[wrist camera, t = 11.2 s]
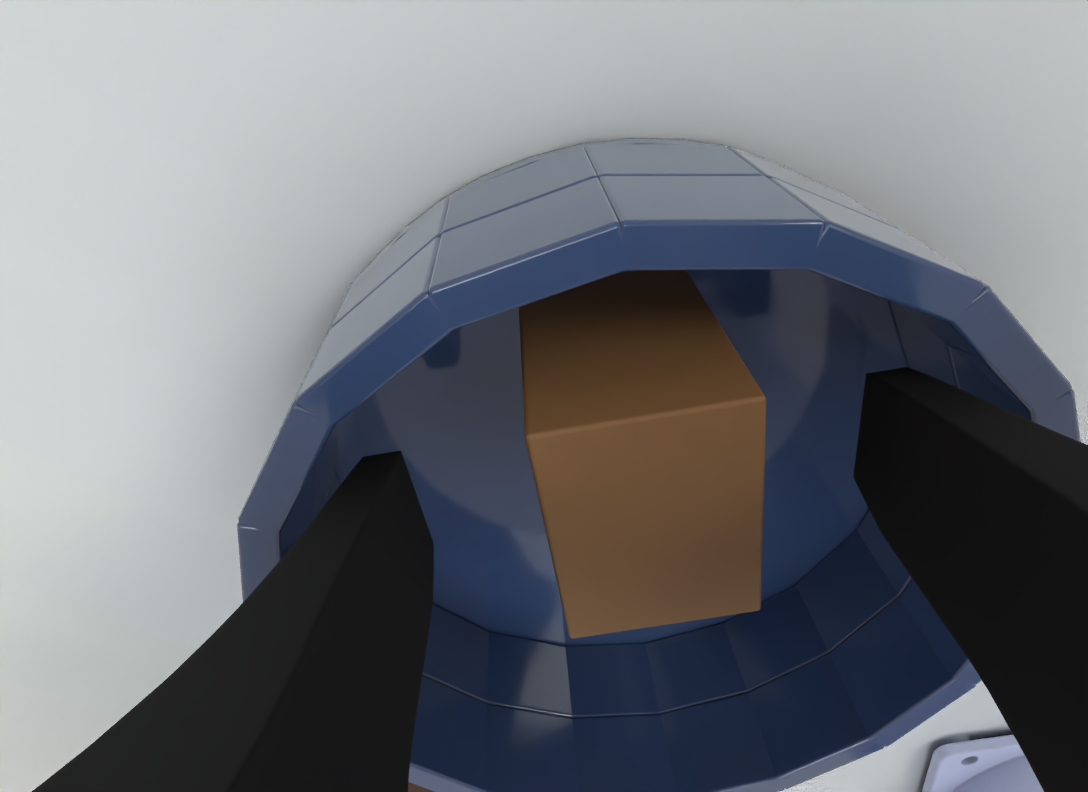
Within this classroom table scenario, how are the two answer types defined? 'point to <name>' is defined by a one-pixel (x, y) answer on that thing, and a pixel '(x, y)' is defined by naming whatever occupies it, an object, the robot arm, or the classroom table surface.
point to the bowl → (512, 501)
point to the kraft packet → (643, 453)
